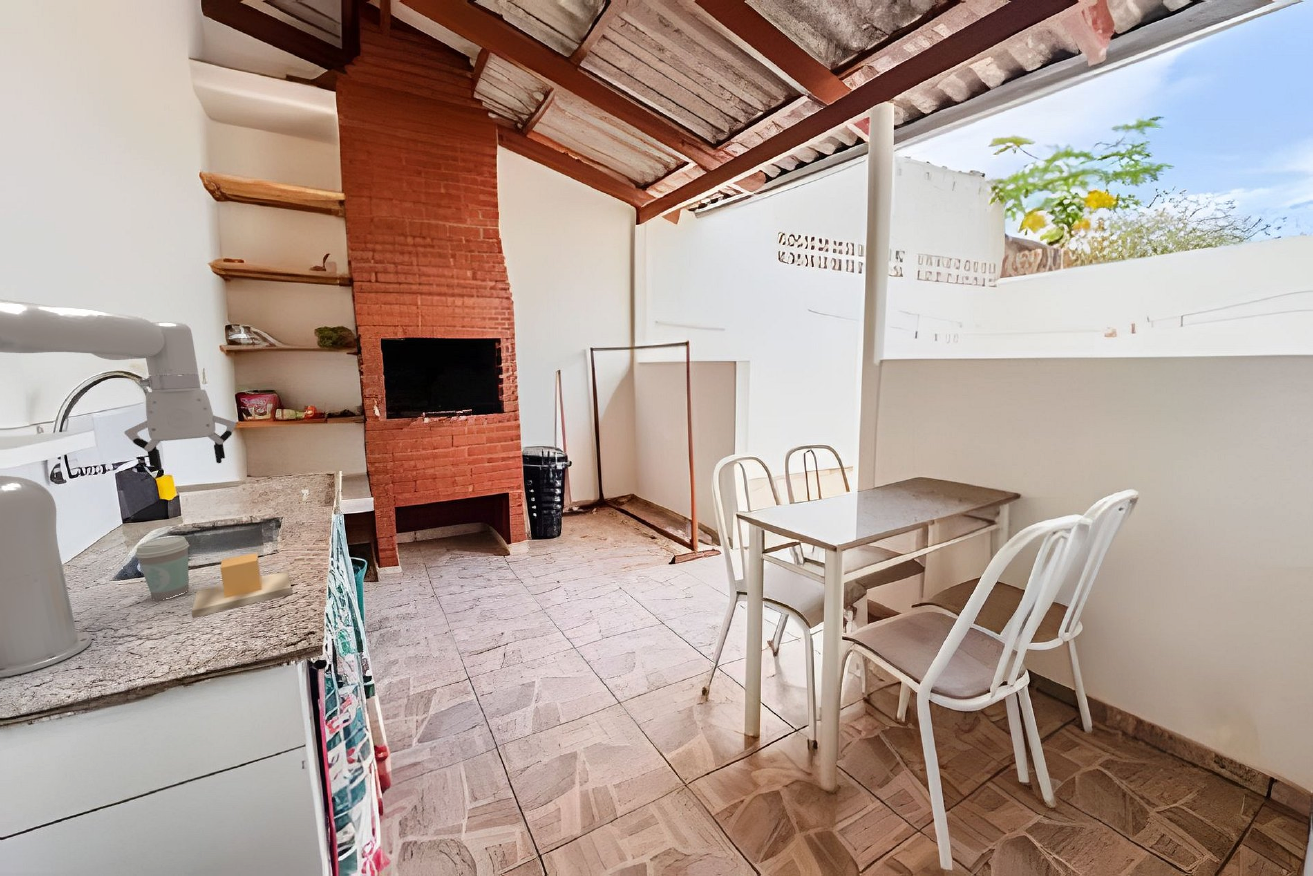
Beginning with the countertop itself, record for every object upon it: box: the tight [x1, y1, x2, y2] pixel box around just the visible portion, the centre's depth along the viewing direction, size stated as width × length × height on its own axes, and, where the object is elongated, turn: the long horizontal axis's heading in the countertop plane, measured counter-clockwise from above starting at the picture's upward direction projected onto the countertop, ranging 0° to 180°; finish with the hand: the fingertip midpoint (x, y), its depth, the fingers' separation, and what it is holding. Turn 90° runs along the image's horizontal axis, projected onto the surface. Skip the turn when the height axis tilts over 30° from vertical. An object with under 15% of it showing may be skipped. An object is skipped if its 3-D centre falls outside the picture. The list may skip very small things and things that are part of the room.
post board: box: [191, 570, 293, 618], centre depth 111 cm, size 16×12×6 cm
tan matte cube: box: [220, 552, 262, 598], centre depth 111 cm, size 6×6×6 cm
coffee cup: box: [134, 535, 190, 601], centre depth 113 cm, size 8×8×12 cm
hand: (189, 465), depth 110 cm, fingers open, 9 cm apart
